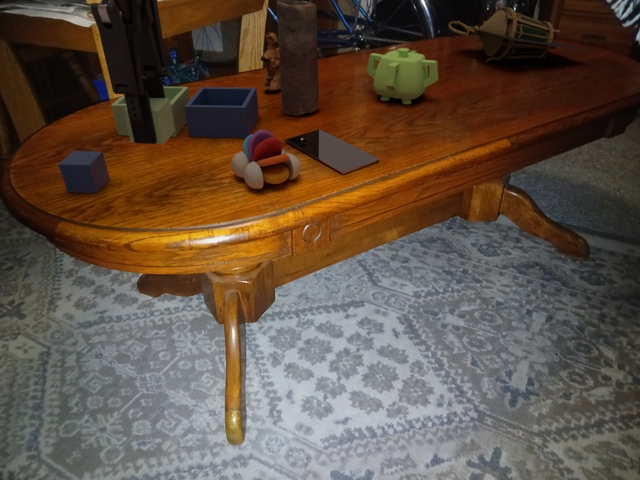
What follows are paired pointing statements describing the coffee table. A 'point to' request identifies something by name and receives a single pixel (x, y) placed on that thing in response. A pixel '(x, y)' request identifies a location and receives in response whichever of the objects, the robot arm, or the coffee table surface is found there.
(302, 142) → the smartphone
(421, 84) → the green lidded pot
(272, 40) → the figurine
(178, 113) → the green bin
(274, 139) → the rainbow puzzle ball
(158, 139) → the green block
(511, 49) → the lantern
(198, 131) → the blue bin
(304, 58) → the candle
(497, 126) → the coffee table surface
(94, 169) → the blue block
